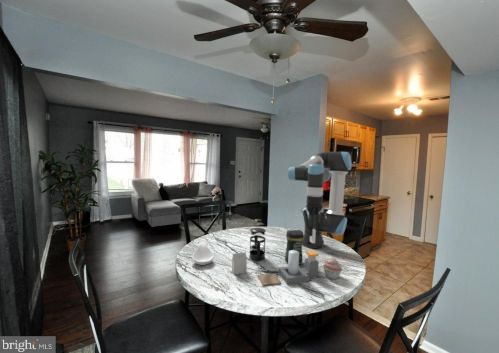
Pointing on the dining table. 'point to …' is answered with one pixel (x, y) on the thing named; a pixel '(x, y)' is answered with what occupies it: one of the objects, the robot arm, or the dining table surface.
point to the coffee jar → (294, 243)
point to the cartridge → (293, 262)
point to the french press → (257, 244)
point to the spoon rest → (202, 255)
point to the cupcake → (332, 268)
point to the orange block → (312, 255)
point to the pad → (269, 279)
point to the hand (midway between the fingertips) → (312, 242)
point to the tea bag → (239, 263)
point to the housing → (300, 273)
